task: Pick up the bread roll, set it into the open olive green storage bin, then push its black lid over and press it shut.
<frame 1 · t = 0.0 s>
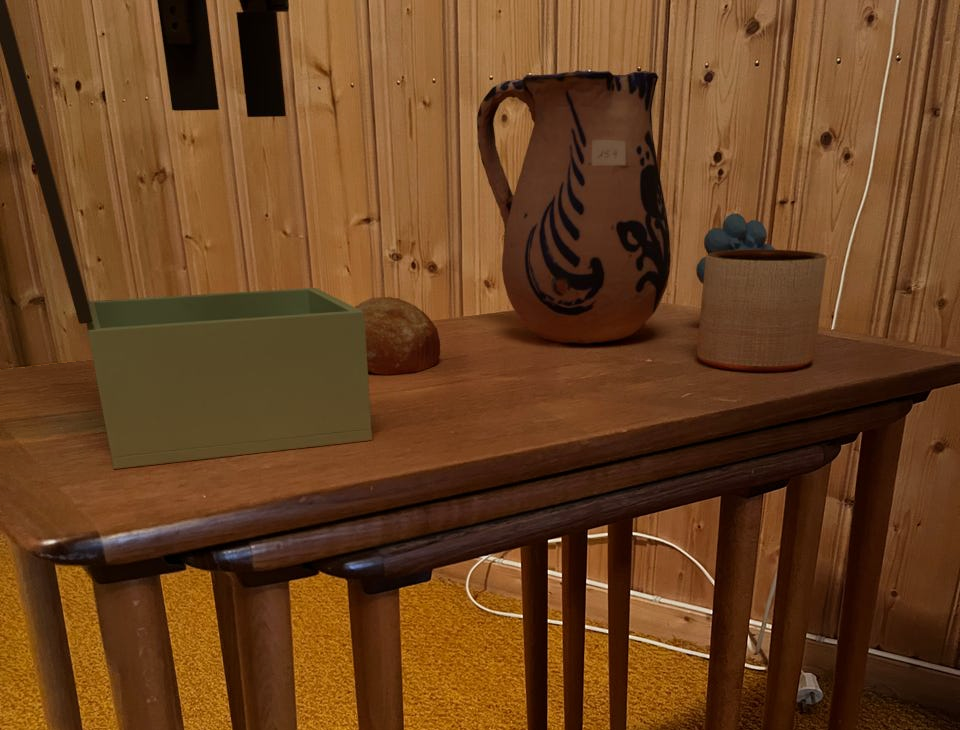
hand: (234, 114, 66), 21 cm above the table, tool pointing down, fingers open, 13 cm apart
grapes: (738, 330, 111), on the table
ceramic pitcher: (567, 339, 107), on the table
olive green storage bin: (232, 429, 73), on the table
storage bin lid: (41, 156, 61), point 18 cm above the table, hinge at 95.0°
bread roll: (390, 366, 95), on the table
planter: (753, 364, 93), on the table
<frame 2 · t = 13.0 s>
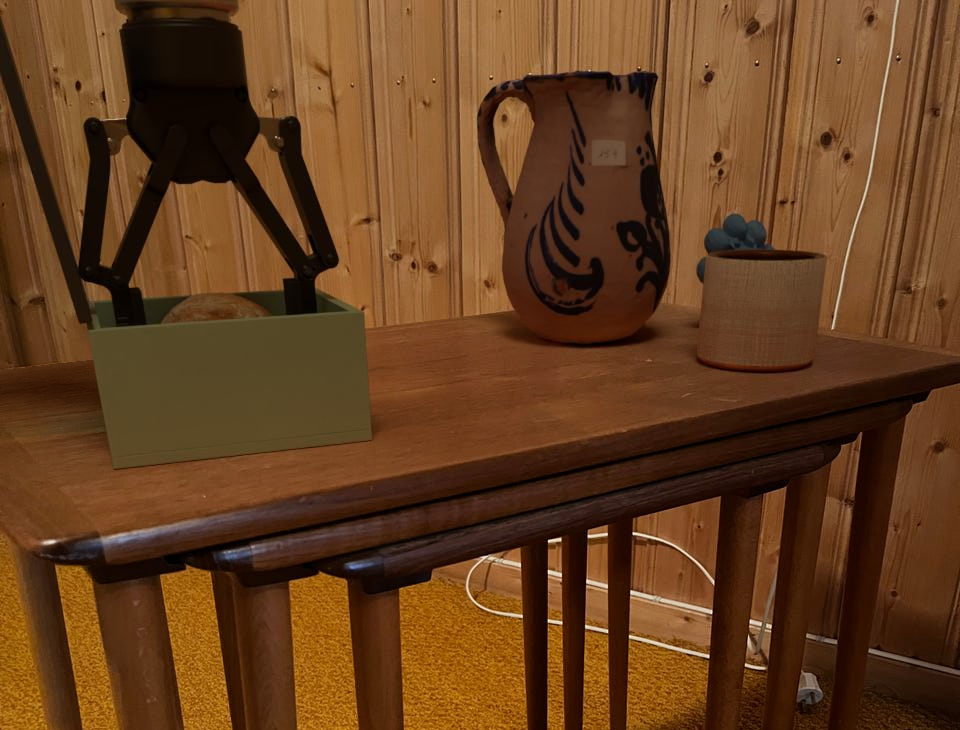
hand: (227, 378, 71), 4 cm above the table, tool pointing down, fingers closed on bread roll, 10 cm apart
storage bin lid: (36, 157, 61), point 18 cm above the table, hinge at 96.8°
bread roll: (228, 384, 71), point 3 cm above the table, touching gripper
everything else where it was.
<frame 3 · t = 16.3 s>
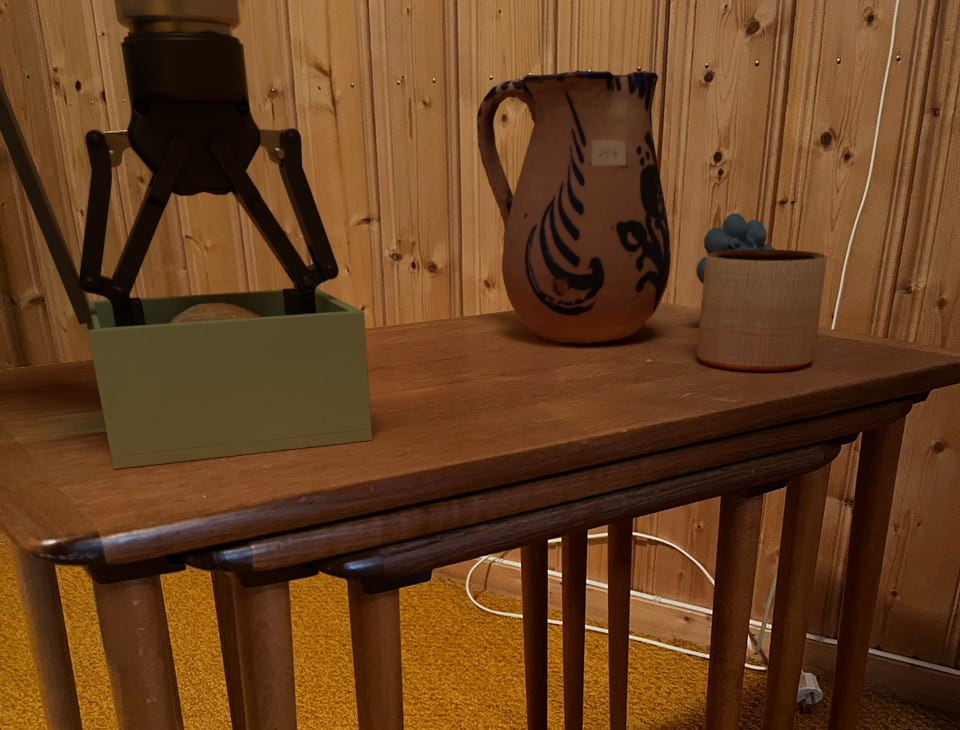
hand: (227, 388, 72), 3 cm above the table, tool pointing down, fingers closed on bread roll, 10 cm apart
storage bin lid: (23, 159, 61), point 18 cm above the table, hinge at 101.7°
bread roll: (228, 394, 72), point 3 cm above the table, touching gripper
everything else where it was.
when the fingers open (4 cm above the table, at t = 18.8 s): bread roll drops 3 cm, resting on olive green storage bin.
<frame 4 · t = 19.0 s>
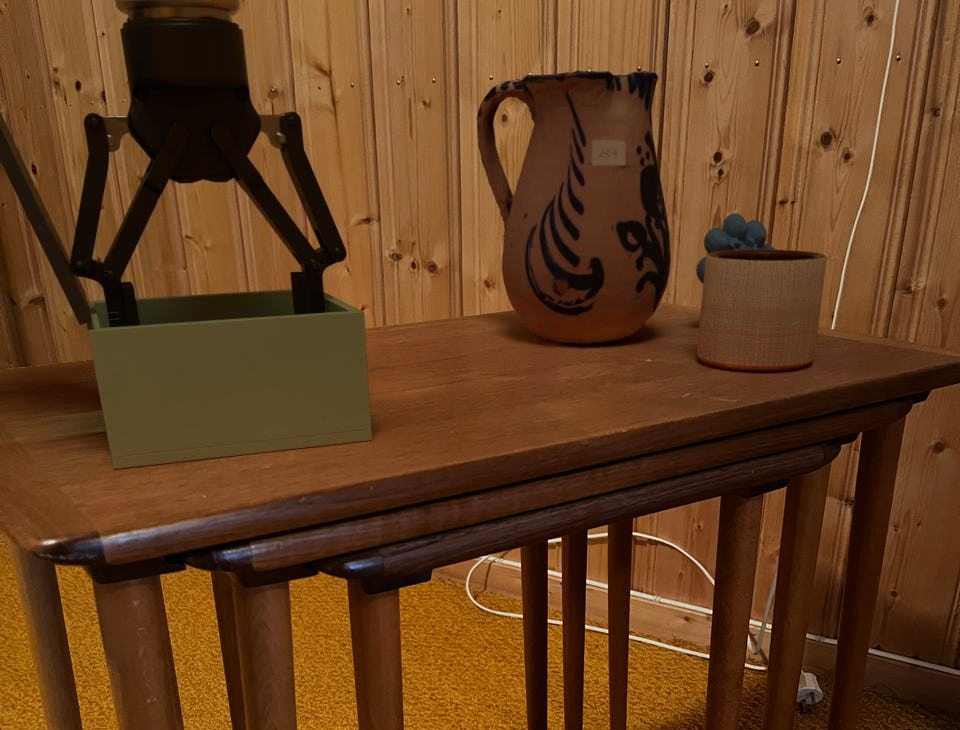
hand: (227, 373, 71), 4 cm above the table, tool pointing down, fingers open, 11 cm apart
storage bin lid: (13, 162, 61), point 18 cm above the table, hinge at 105.5°, touching gripper
bread roll: (232, 421, 73), point 1 cm above the table, touching olive green storage bin
everything else where it was.
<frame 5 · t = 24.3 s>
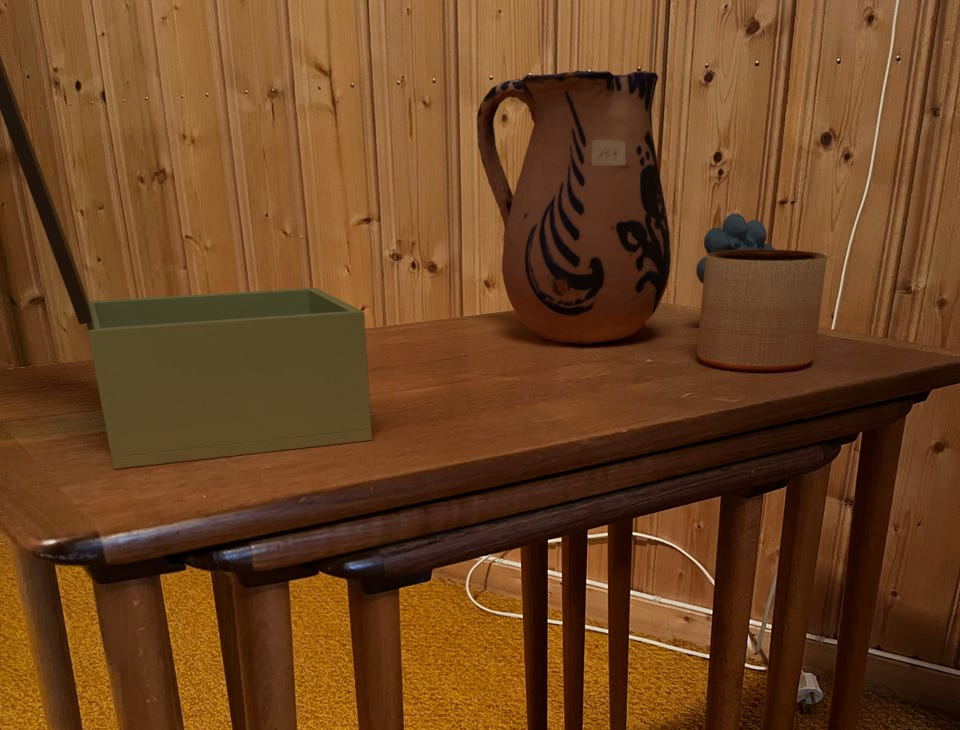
storage bin lid: (28, 158, 61), point 18 cm above the table, hinge at 99.7°
everything else where it was.
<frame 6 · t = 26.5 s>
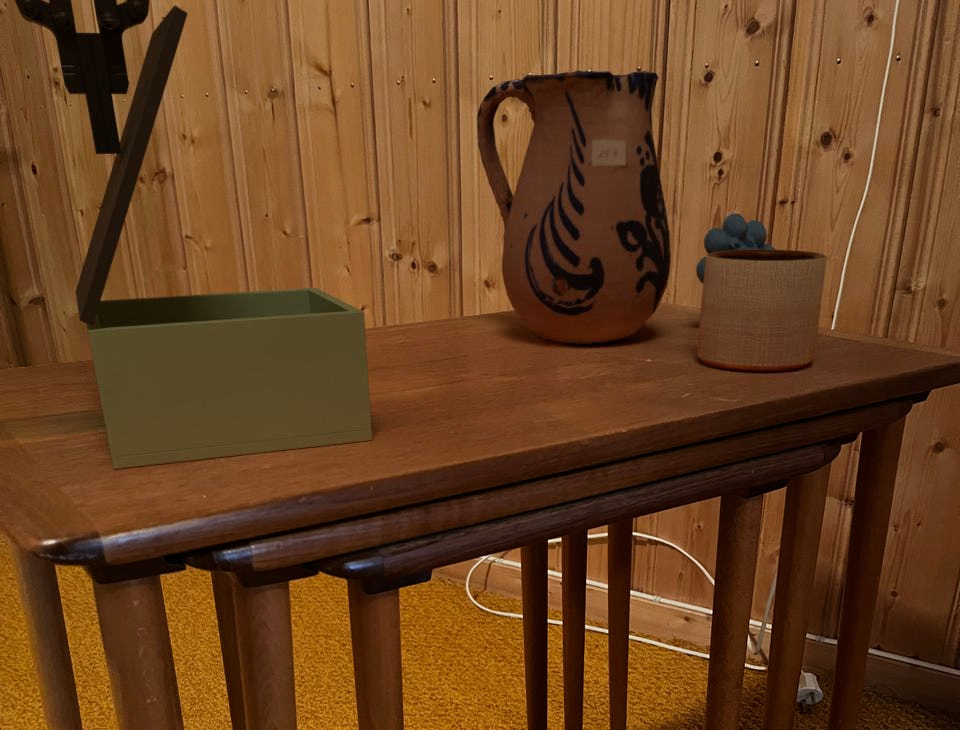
hand: (108, 153, 63), 19 cm above the table, tool pointing down, fingers closed
storage bin lid: (124, 171, 63), point 18 cm above the table, hinge at 63.9°, touching gripper
everything else where it was.
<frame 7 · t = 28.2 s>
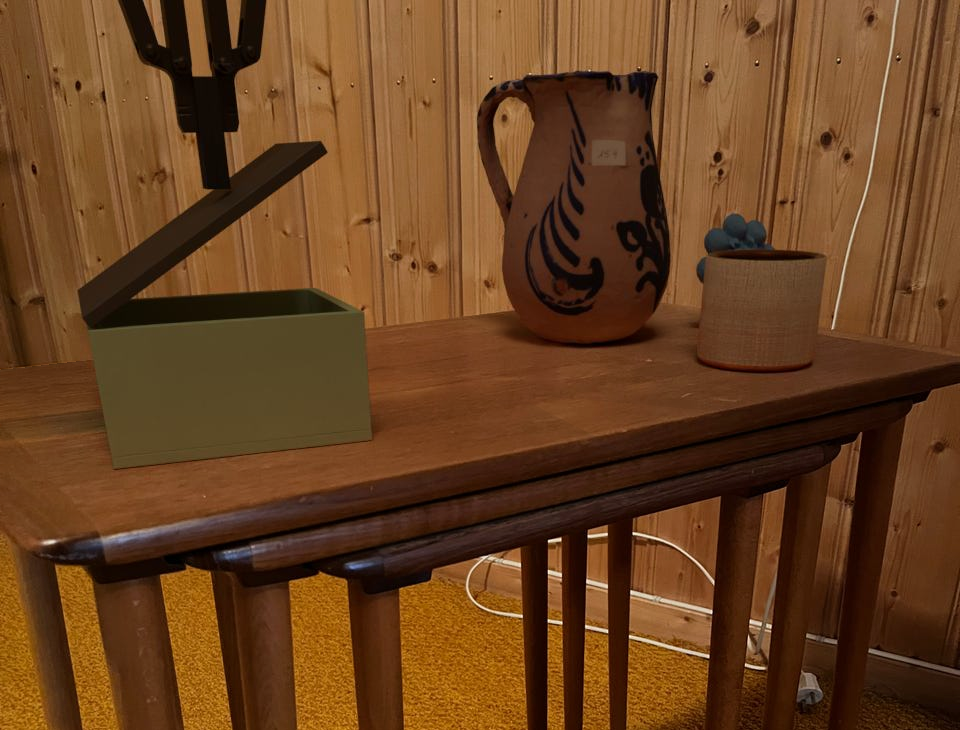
hand: (216, 188, 66), 16 cm above the table, tool pointing down, fingers closed
storage bin lid: (192, 227, 66), point 14 cm above the table, hinge at 31.1°, touching gripper
everything else where it was.
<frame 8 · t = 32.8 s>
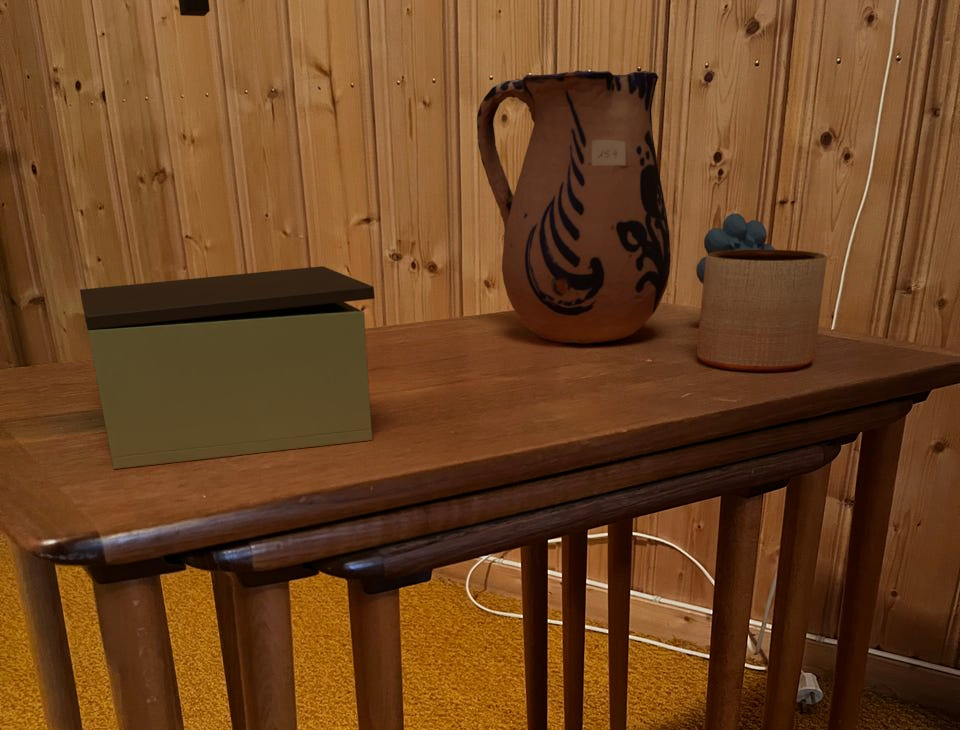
hand: (194, 12, 61), 26 cm above the table, tool pointing down, fingers closed
storage bin lid: (220, 293, 69), point 10 cm above the table, hinge at 2.3°
everything else where it was.
at the end: bread roll inside the target area in the olive green storage bin (0.1 cm from its centre), point 0.6 cm above the olive green storage bin's base; storage bin lid at +2° (first picture: +95°) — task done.
